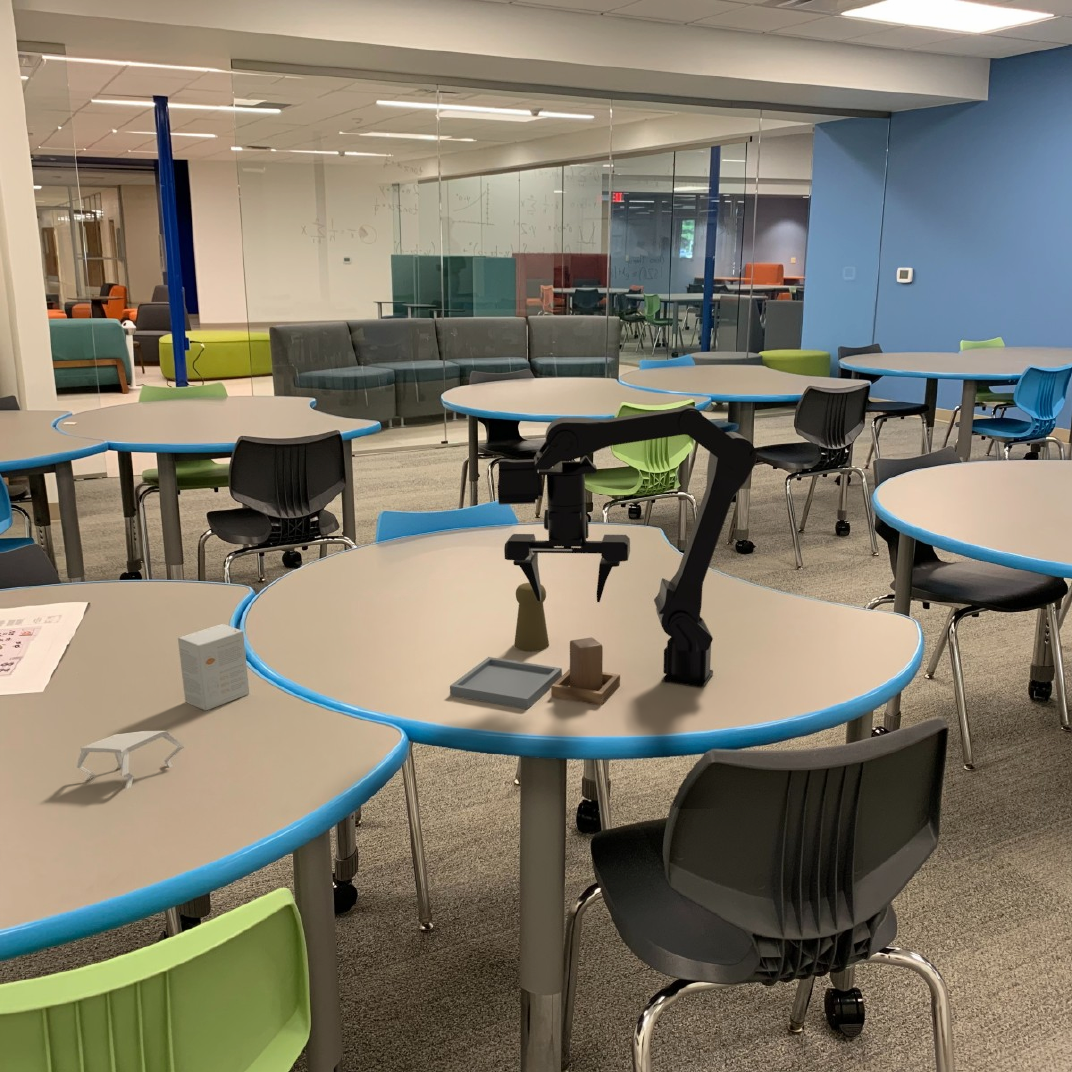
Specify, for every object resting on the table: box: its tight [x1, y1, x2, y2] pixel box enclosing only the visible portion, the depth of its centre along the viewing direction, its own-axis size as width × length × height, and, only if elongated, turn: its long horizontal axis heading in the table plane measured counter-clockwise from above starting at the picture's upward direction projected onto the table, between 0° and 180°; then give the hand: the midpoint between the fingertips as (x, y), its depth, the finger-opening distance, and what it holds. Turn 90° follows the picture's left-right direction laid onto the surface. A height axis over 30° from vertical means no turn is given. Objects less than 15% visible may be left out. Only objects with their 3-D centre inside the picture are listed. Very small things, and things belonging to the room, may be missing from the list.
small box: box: [177, 623, 250, 711], centre depth 153 cm, size 8×6×10 cm
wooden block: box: [569, 637, 604, 691], centre depth 154 cm, size 4×4×8 cm
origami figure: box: [76, 730, 185, 789], centre depth 131 cm, size 12×8×5 cm
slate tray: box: [449, 656, 563, 710], centre depth 157 cm, size 13×13×2 cm
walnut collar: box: [550, 668, 621, 706], centre depth 155 cm, size 8×8×2 cm
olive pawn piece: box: [513, 582, 550, 652], centre depth 173 cm, size 6×6×11 cm
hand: (568, 600), depth 156 cm, fingers open, 9 cm apart
